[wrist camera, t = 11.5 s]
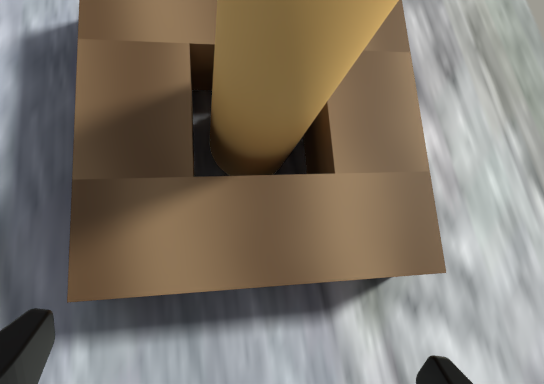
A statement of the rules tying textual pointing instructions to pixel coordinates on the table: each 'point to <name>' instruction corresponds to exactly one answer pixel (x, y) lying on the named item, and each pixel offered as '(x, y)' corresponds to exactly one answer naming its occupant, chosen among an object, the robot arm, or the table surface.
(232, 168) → the ochre pin
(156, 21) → the walnut hole block
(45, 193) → the table surface
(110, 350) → the table surface
